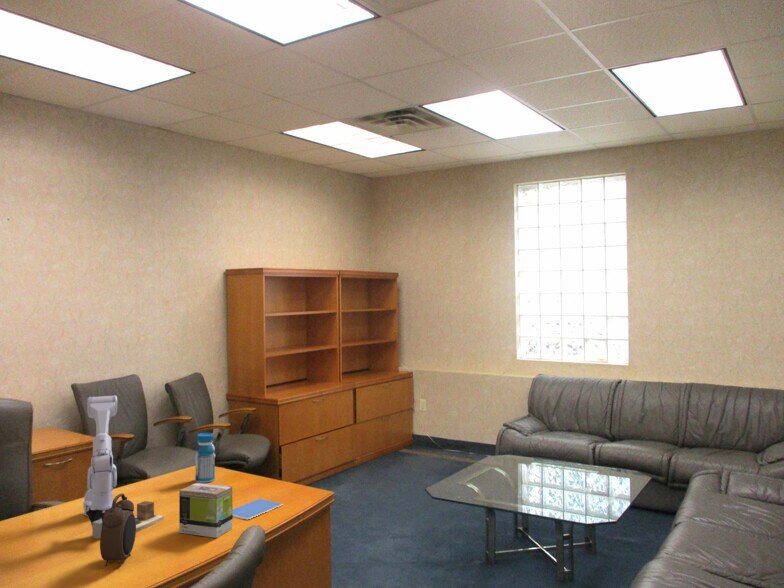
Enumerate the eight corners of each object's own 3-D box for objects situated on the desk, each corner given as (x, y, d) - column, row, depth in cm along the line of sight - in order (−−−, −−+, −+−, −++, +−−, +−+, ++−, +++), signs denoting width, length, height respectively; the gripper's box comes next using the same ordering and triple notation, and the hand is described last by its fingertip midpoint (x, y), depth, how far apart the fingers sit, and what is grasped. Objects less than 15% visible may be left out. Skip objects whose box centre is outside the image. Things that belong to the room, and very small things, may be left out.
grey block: (92, 537, 206) (92, 522, 206) (102, 533, 210) (102, 518, 210) (101, 539, 205) (101, 523, 205) (111, 534, 209) (111, 519, 209)
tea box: (233, 528, 215) (233, 485, 215) (216, 539, 205) (216, 494, 205) (196, 523, 220) (196, 481, 220) (178, 533, 210) (178, 489, 210)
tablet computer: (259, 501, 245) (259, 497, 245) (284, 506, 239) (284, 503, 239) (222, 516, 228) (222, 512, 228) (248, 522, 222) (248, 518, 222)
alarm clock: (123, 572, 181) (123, 502, 181) (97, 572, 180) (97, 503, 180) (139, 551, 195) (140, 487, 195) (115, 552, 195) (116, 488, 195)
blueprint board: (111, 528, 214) (111, 525, 214) (141, 515, 227) (141, 512, 227) (134, 533, 210) (134, 529, 210) (163, 519, 223) (163, 515, 223)
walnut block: (145, 514, 224) (145, 500, 224) (153, 516, 223) (154, 502, 223) (136, 518, 221) (136, 504, 221) (145, 519, 219) (145, 505, 219)
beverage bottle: (204, 484, 264) (204, 437, 265) (190, 481, 269) (190, 435, 269) (219, 479, 272) (219, 433, 272) (205, 476, 276) (205, 431, 276)
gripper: (75, 491, 207) (75, 532, 207) (108, 497, 201) (108, 539, 201) (93, 485, 213) (93, 525, 213) (125, 490, 208) (125, 531, 208)
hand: (101, 531), depth 208 cm, fingers closed on grey block, 4 cm apart
